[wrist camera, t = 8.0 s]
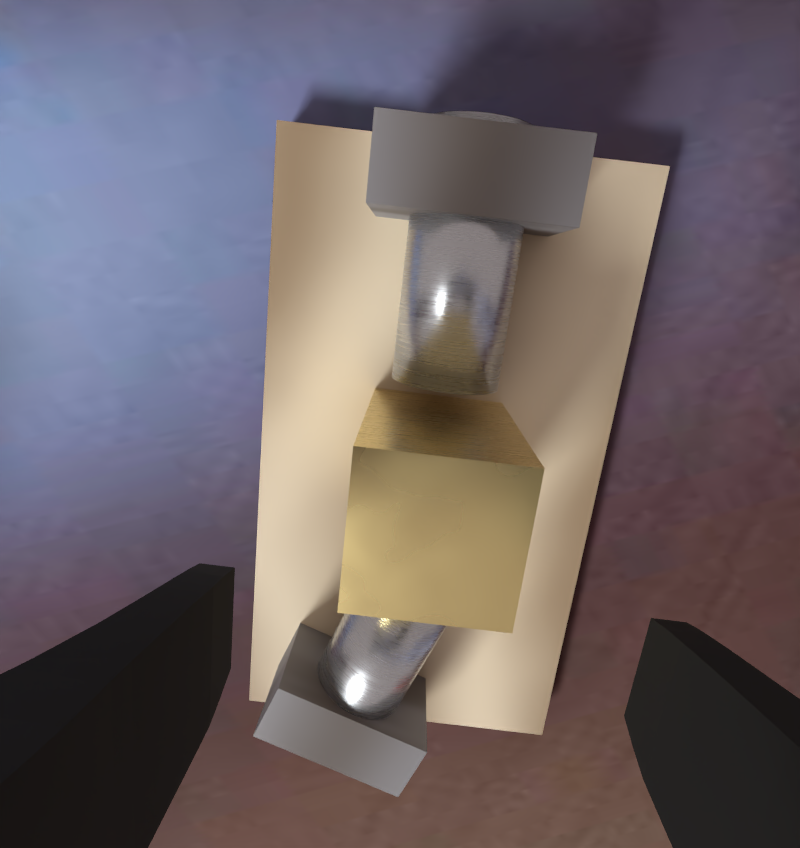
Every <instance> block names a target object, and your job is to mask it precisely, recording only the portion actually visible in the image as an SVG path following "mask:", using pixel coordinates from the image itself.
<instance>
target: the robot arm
mask: <svg viewBox="0 0 800 848" xmlns="http://www.w3.org/2000/svg"><path fill="white" fill-rule="evenodd" d="M234 572H235V568H233V567H225V566H216V565H208V564H198V565H196V566H194V567H192V568H190V569H188V570H187V571H185V572H183V573H182V574H180V575H178V576H176V577H175V578H173V579H172V580H170V581H168V582H167V583H165V584H163V585H162V586H160V587H158V588H157V589H155V590H153V591H152V592H150V593H148V594H147V595H145V596H143V597H142V598H140V599H138V600H137V601H135V602H133V603H132V604H130V605H128V606H127V607H125V608H123V609H122V610H120V611H118V612H116V613H115V614H113V615H111V616H110V617H108V618H106V619H105V620H103V621H101V622H99V623H98V624H96V625H94V626H92V627H90V628H88V629H87V630H85V631H83V632H81V633H79V634H77V635H75V636H74V637H72V638H70V639H68V640H66V641H64V642H62V643H61V644H59V645H57V646H55V647H53V648H51V649H49V650H48V651H46V652H44V653H42V654H40V655H38V656H36V657H35V658H33V659H31V660H29V661H27V662H25V663H23V664H21V665H19V666H17V667H15V668H13V669H11V670H8V671H6V672H4V673H2V674H0V848H148V846H149V844H150V842H151V841H152V839H153V837H154V835H155V833H156V831H157V829H158V827H159V825H160V823H161V821H162V819H163V817H164V815H165V813H166V811H167V809H168V807H169V805H170V803H171V801H172V799H173V797H174V795H175V793H176V791H177V789H178V788H179V786H180V784H181V782H182V780H183V778H184V776H185V774H186V772H187V770H188V768H189V766H190V764H191V762H192V760H193V758H194V756H195V754H196V752H197V750H198V748H199V746H200V744H201V742H202V740H203V738H204V736H205V734H206V732H207V730H208V728H209V726H210V723H211V720H212V718H213V715H214V713H215V710H216V707H217V705H218V702H219V699H220V697H221V694H222V691H223V688H224V685H225V683H226V680H227V677H228V674H229V672H230V669H231V648H232V623H233V598H234ZM624 717H625V720H626V724H627V727H628V731H629V735H630V738H631V742H632V745H633V749H634V752H635V755H636V758H637V761H638V764H639V767H640V771H641V774H642V777H643V780H644V782H645V784H646V787H647V789H648V791H649V794H650V796H651V798H652V801H653V803H654V805H655V808H656V810H657V812H658V815H659V817H660V819H661V822H662V824H663V826H664V828H665V831H666V833H667V835H668V838H669V840H670V842H671V844H672V847H673V848H800V699H799V698H797V697H796V696H795V695H793V694H792V693H790V692H789V691H787V690H786V689H785V688H783V687H782V686H780V685H779V684H777V683H776V682H775V681H773V680H772V679H770V678H769V677H768V676H766V675H765V674H763V673H762V672H760V671H759V670H758V669H756V668H755V667H753V666H752V665H751V664H749V663H748V662H746V661H745V660H743V659H742V658H741V657H739V656H738V655H736V654H735V653H733V652H732V651H731V650H729V649H728V648H726V647H725V646H723V645H722V644H720V643H719V642H717V641H716V640H714V639H713V638H711V637H710V636H708V635H707V634H705V633H704V632H702V631H700V630H699V629H697V628H695V627H694V626H692V625H690V624H688V623H687V622H679V621H670V620H662V619H654V618H651V620H650V624H649V628H648V631H647V635H646V639H645V642H644V646H643V649H642V653H641V657H640V660H639V664H638V668H637V671H636V675H635V678H634V682H633V686H632V689H631V693H630V697H629V700H628V704H627V707H626V711H625V715H624Z"/></svg>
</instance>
